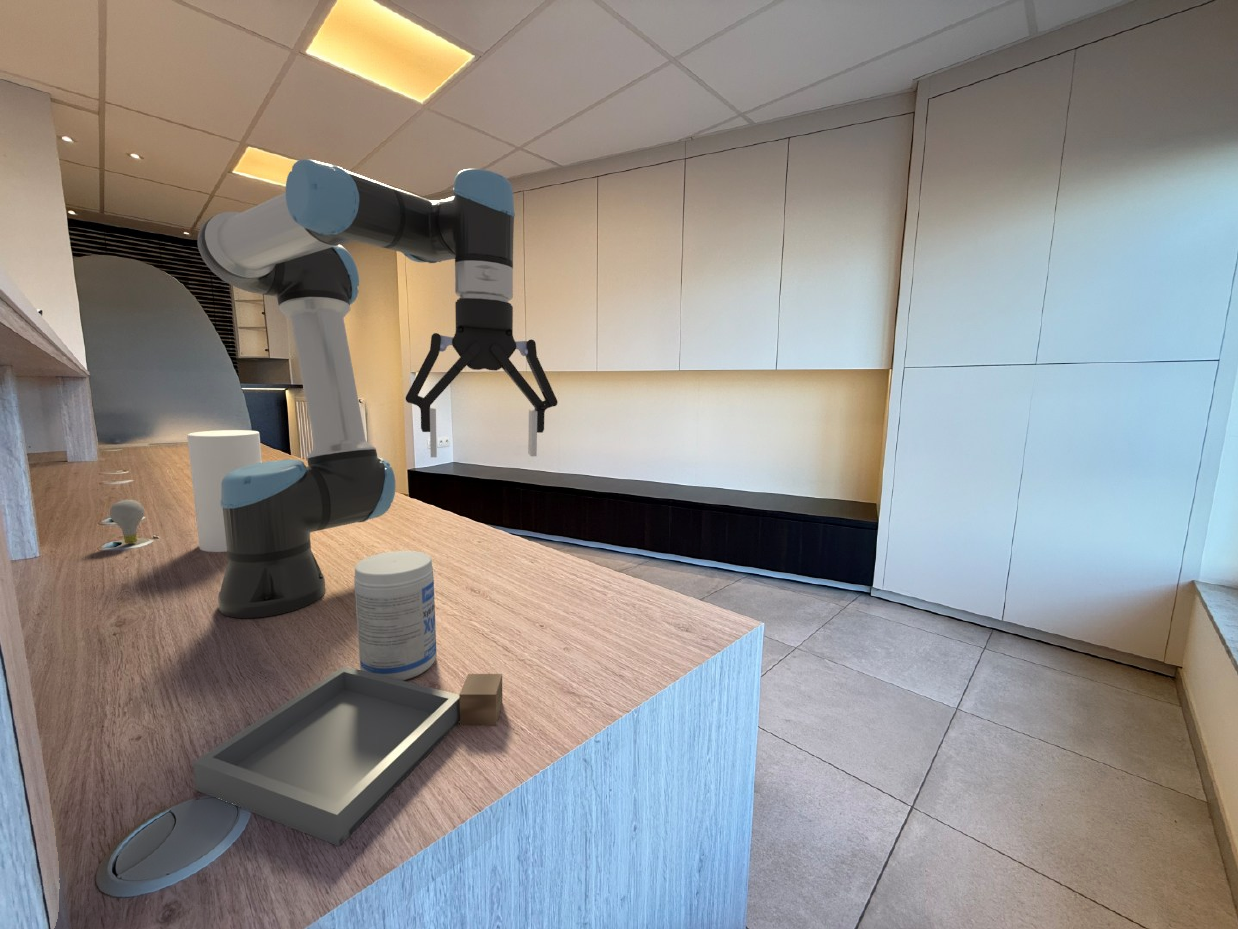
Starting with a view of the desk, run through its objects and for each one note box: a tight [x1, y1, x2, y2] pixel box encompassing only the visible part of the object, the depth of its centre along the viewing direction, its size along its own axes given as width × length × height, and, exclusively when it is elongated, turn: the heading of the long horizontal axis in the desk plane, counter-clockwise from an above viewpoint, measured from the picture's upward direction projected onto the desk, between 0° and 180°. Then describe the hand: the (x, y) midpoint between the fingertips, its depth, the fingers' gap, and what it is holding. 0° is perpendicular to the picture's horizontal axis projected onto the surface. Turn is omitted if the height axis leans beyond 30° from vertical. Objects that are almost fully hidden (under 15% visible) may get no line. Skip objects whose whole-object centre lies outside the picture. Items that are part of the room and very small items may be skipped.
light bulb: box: [109, 499, 145, 545], centre depth 111 cm, size 6×6×10 cm
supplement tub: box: [353, 550, 437, 681], centre depth 67 cm, size 10×10×15 cm
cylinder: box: [186, 429, 263, 553], centre depth 113 cm, size 12×12×25 cm
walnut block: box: [458, 673, 503, 727], centre depth 59 cm, size 4×4×4 cm
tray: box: [192, 665, 460, 847], centre depth 52 cm, size 17×17×3 cm
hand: (484, 455), depth 72 cm, fingers open, 13 cm apart
